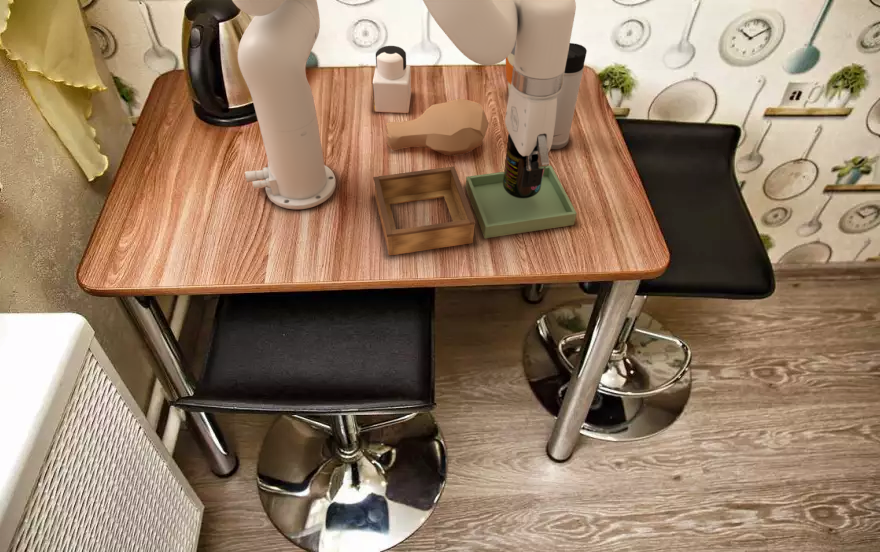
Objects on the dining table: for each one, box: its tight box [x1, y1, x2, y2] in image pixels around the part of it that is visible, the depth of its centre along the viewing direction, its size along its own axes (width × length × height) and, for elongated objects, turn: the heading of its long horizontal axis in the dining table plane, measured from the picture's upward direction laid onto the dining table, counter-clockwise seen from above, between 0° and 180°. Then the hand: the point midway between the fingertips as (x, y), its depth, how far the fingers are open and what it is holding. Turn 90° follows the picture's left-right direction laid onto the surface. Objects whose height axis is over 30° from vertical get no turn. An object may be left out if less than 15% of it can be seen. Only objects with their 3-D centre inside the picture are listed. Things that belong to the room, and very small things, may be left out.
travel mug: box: [550, 42, 588, 150], centre depth 117 cm, size 6×7×20 cm
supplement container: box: [503, 133, 544, 198], centre depth 104 cm, size 7×7×10 cm
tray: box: [465, 164, 578, 239], centre depth 111 cm, size 16×13×3 cm
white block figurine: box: [372, 45, 412, 114], centre depth 127 cm, size 7×7×12 cm
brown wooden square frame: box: [372, 166, 476, 256], centre depth 107 cm, size 15×15×5 cm
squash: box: [385, 98, 490, 157], centre depth 120 cm, size 11×20×9 cm, turn 94°
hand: (523, 170), depth 106 cm, fingers closed on supplement container, 6 cm apart
